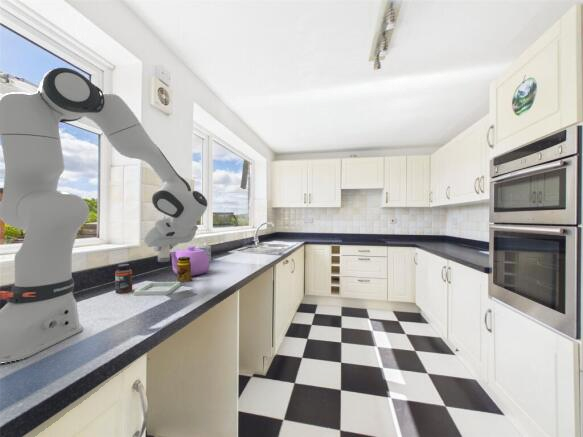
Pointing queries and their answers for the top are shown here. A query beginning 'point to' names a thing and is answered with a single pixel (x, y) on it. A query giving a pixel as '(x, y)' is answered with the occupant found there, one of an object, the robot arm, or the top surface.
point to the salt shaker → (164, 253)
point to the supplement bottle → (123, 279)
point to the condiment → (184, 269)
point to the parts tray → (157, 292)
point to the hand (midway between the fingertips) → (162, 249)
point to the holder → (181, 295)
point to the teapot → (192, 260)
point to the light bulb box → (207, 250)
